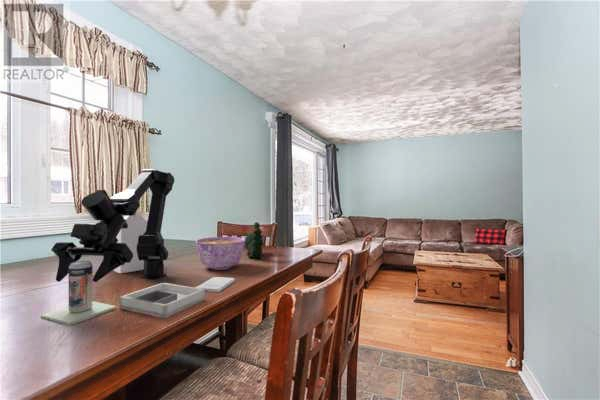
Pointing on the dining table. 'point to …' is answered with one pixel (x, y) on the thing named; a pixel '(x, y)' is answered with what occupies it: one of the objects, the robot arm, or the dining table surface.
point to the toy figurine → (254, 243)
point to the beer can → (80, 286)
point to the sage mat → (72, 318)
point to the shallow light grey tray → (162, 299)
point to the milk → (132, 241)
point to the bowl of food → (220, 251)
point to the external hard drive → (216, 284)
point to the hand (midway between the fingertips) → (75, 281)
